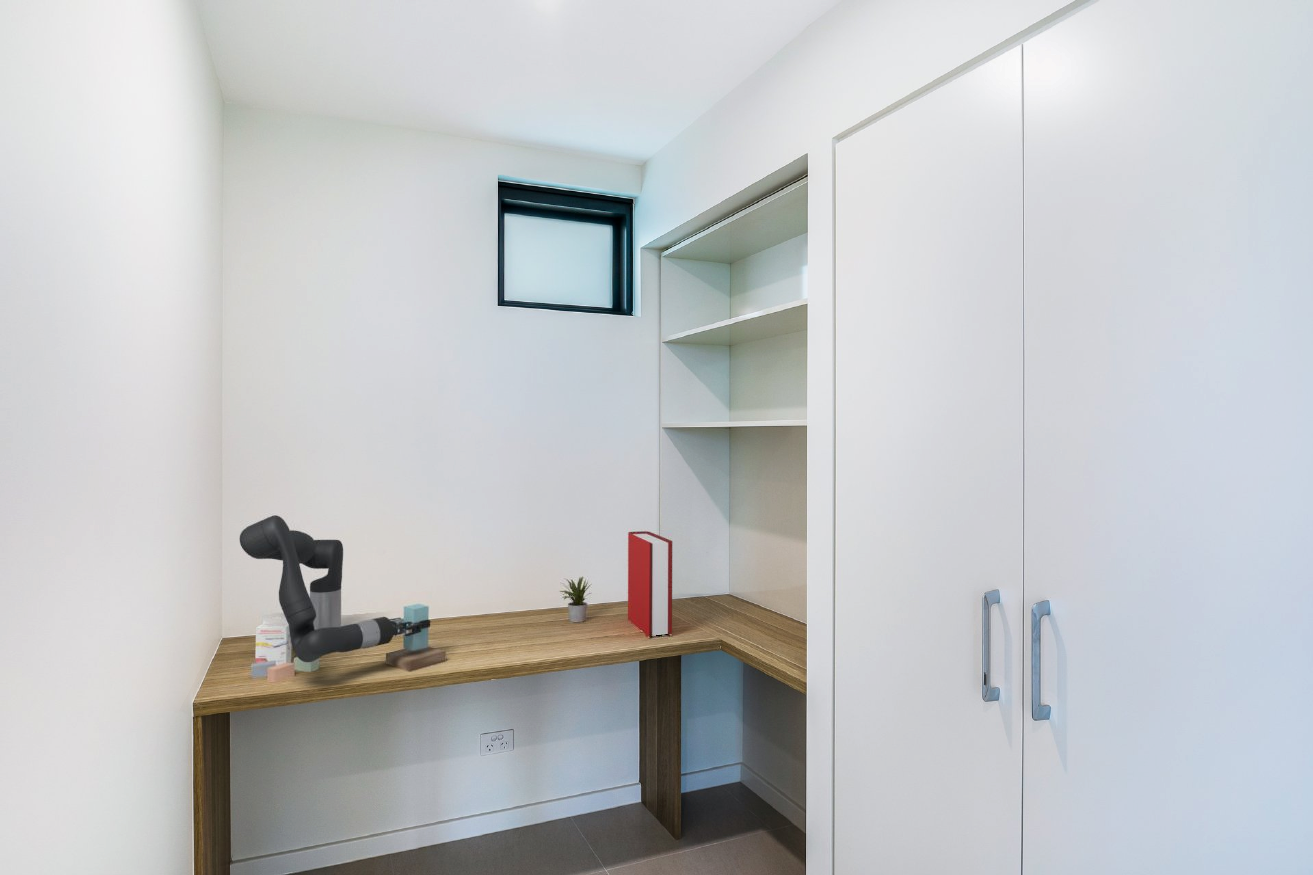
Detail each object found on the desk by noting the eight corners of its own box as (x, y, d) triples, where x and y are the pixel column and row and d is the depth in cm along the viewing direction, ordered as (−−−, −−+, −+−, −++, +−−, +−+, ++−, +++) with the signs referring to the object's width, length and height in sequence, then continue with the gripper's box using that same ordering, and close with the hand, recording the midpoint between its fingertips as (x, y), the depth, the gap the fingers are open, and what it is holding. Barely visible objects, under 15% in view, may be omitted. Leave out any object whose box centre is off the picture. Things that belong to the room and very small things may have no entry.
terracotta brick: (274, 682, 199) (274, 669, 199) (267, 680, 200) (267, 667, 200) (294, 676, 204) (294, 663, 204) (287, 674, 206) (287, 662, 206)
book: (672, 636, 246) (672, 541, 246) (649, 638, 244) (649, 541, 244) (647, 617, 272) (648, 531, 272) (626, 619, 270) (627, 531, 270)
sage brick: (293, 670, 210) (293, 658, 210) (301, 667, 212) (301, 655, 212) (310, 672, 208) (310, 660, 208) (318, 669, 211) (318, 657, 211)
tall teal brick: (403, 647, 216) (403, 606, 216) (418, 643, 220) (418, 603, 220) (413, 650, 213) (413, 608, 213) (428, 646, 217) (428, 606, 217)
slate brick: (251, 679, 202) (251, 666, 202) (251, 676, 204) (251, 663, 204) (275, 675, 205) (276, 663, 205) (275, 672, 207) (275, 660, 207)
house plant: (560, 615, 275) (561, 571, 275) (597, 615, 275) (597, 571, 275) (554, 624, 261) (554, 578, 261) (592, 625, 261) (593, 579, 261)
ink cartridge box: (254, 668, 210) (254, 617, 210) (260, 663, 215) (261, 613, 215) (286, 667, 212) (286, 616, 212) (292, 662, 217) (292, 612, 217)
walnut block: (385, 663, 216) (386, 653, 216) (421, 654, 225) (421, 644, 225) (410, 671, 208) (410, 660, 208) (445, 661, 218) (445, 651, 218)
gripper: (386, 623, 201) (438, 612, 215) (357, 615, 210) (409, 605, 223) (385, 651, 201) (438, 638, 214) (357, 642, 210) (409, 630, 223)
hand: (423, 621), depth 219 cm, fingers closed on tall teal brick, 5 cm apart
